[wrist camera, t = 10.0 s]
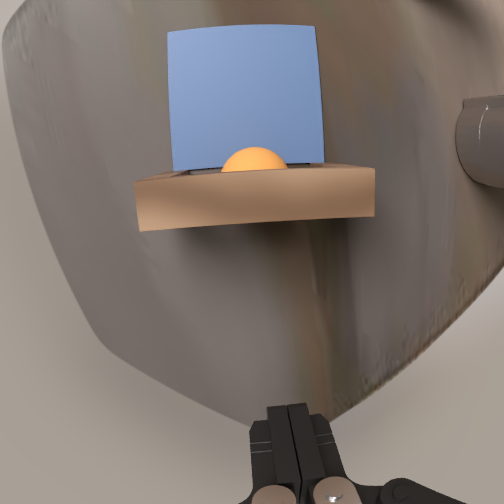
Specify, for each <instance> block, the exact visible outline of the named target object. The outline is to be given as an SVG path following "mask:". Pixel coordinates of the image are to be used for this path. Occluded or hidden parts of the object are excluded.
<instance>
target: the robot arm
mask: <svg viewBox="0 0 504 504" xmlns="http://www.w3.org/2000/svg"><path fill="white" fill-rule="evenodd" d="M463 103H464V109H463V111H462V113H461V115H460V117H459V120H458V123H457V128H456V146H457V152H458V156H459V159H460V162H461V164H462V166H463V168H464V170H465V171H466V173H467V174H468V175H469V176H470V177H471V178H472V179H473V180H475V181H476V182H478V183H482V184H486V185H489V186H492V187H498V188H502V189H504V95H499V96H489V97H479V98H471V99H464V100H463ZM249 435H250V449H251V464H252V478H253V489H252V492H251V494H250V496H249V497H248V498H247V499H246V500H244V501H243V502H241V503H239V504H466V503H463V502H461V501H458V500H456V499H453V498H451V497H448V496H446V495H443V494H441V493H438V492H436V491H434V490H432V489H429V488H427V487H425V486H422V485H420V484H418V483H416V482H414V481H411V480H409V479H406V478H396V479H393V480H390V481H389V482H387V483H386V484H385V485H384V486H364V485H359V484H357V483H354V482H353V481H351V480H350V479H349V478H348V477H347V476H346V474H345V471H344V468H343V465H342V462H341V459H340V455H339V452H338V449H337V446H336V443H335V440H334V437H333V435H332V431H331V428H330V424H329V422H328V421H327V420H326V419H325V418H324V417H323V416H322V415H321V414H314V415H309V411H308V408H307V405H306V403H299V404H290V405H287V406H286V405H282V406H272V407H267V420H261V421H254V423H253V425H252V427H251V429H250V431H249Z"/></svg>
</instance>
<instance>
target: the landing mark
mask: <svg viewBox="0 0 504 504" xmlns="http://www.w3.org/2000/svg"><path fill="white" fill-rule="evenodd" d="M168 82H169V107H170V126H171V141H172V156H173V168H174V171H181V170H192V169H203V168H215V167H223V166H224V165H225V163H226V161H227V160H228V159H229V158H230V157H231V156H232V155H233V154H235V153H236V152H238V151H240V150H242V149H245V148H249V147H261V148H266V149H269V150H271V151H273V152H275V153H276V154H277V155H279V156H280V157H281V158H282V159H283V161H284V162H285V163H324V142H323V121H322V105H321V90H320V77H319V65H318V55H317V45H316V35H315V26H302V25H235V26H220V27H208V28H198V29H189V30H181V31H174V32H168Z"/></svg>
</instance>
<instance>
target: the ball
mask: <svg viewBox="0 0 504 504" xmlns="http://www.w3.org/2000/svg"><path fill="white" fill-rule="evenodd" d="M265 169H288V167H287V165H286V163H285V162H284V161H283V159H282V158H281V157H280V156H279V155H277V154H276V153H275V152H273V151H271V150H269V149H266V148H261V147H249V148H245V149H242V150H240V151H238V152H236V153H235V154H233V155H232V156H231V157H230V158H229V159H228V160H227V161H226V163H225V165H224V166H223V169H222V171H221V172H231V171H247V170H265Z"/></svg>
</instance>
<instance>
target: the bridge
mask: <svg viewBox="0 0 504 504" xmlns="http://www.w3.org/2000/svg"><path fill="white" fill-rule="evenodd" d="M134 190H135V199H136V207H137V215H138V223H139V230H140V231H150V230H161V229H173V228H186V227H199V226H212V225H226V224H240V223H255V222H271V221H288V220H306V219H325V218H347V217H370V216H374V207H375V169H373V168H367V167H360V166H354V165H347V164H340V163H332V162H324V163H310V168H288V169H265V170H247V171H231V172H217V173H205V174H194V175H189V172H188V170H181V171H171V172H164V173H161V174H158V175H155V176H152V177H148V178H145V179H142V180H139V181H136V182H134Z"/></svg>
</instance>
